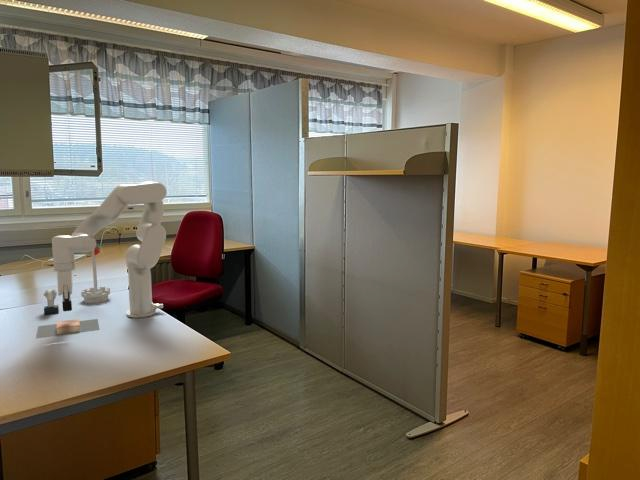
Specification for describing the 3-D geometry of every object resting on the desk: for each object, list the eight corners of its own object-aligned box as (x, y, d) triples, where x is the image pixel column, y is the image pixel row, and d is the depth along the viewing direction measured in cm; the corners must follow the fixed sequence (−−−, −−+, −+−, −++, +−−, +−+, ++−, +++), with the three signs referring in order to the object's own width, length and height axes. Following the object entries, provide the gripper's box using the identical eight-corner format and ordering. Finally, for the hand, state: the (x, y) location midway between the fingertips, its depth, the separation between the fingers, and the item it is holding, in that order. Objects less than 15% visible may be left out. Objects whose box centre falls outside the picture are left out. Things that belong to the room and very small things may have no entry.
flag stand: (76, 301, 231) (72, 241, 227) (99, 295, 243) (95, 238, 239) (93, 304, 225) (89, 243, 221) (116, 298, 237) (113, 240, 233)
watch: (59, 310, 216) (57, 287, 215) (58, 314, 209) (56, 290, 207) (45, 311, 214) (43, 288, 212) (43, 316, 206) (42, 292, 205)
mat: (97, 320, 202) (97, 318, 202) (99, 330, 188) (99, 329, 188) (38, 327, 192) (38, 326, 192) (35, 339, 178) (35, 338, 178)
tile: (79, 318, 194) (79, 325, 186) (79, 324, 194) (79, 331, 186) (57, 321, 190) (56, 328, 182) (57, 327, 190) (56, 334, 183)
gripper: (54, 263, 192) (57, 307, 195) (53, 270, 179) (56, 316, 182) (74, 262, 196) (77, 304, 198) (75, 268, 182) (78, 314, 185)
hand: (67, 310), depth 190 cm, fingers closed
